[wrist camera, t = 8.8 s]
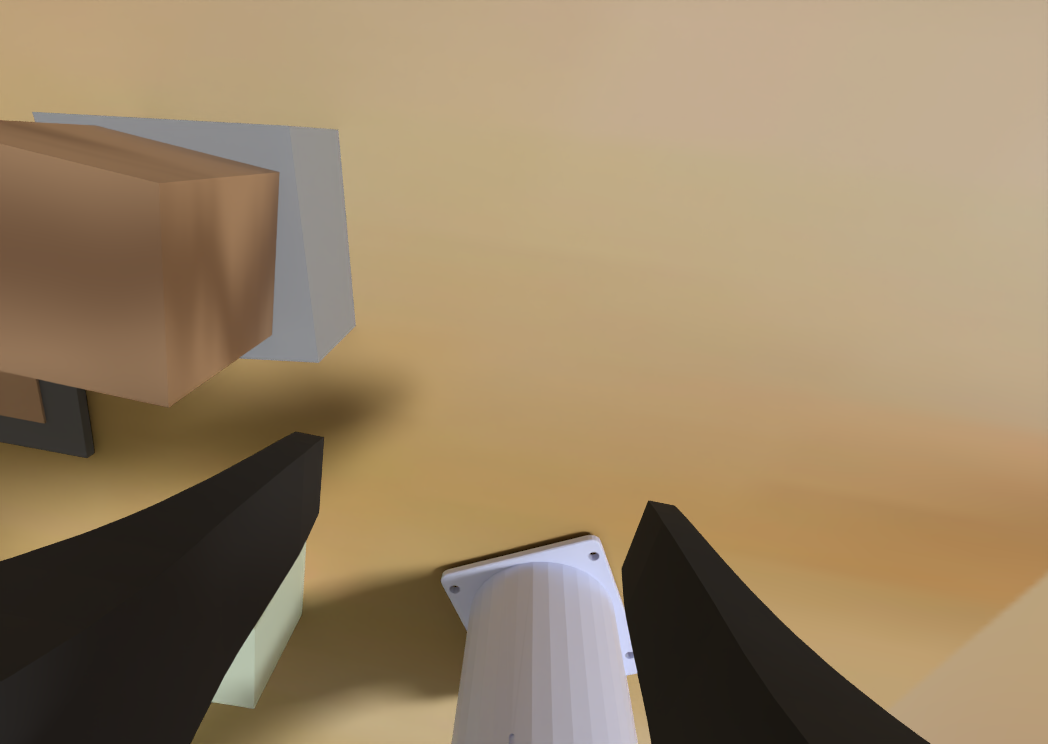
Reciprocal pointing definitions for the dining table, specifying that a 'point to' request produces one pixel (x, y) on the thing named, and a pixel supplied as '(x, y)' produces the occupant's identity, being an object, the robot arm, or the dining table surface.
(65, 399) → the card
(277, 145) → the slate base
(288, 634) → the sage block
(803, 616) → the dining table surface
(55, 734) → the robot arm
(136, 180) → the walnut block
